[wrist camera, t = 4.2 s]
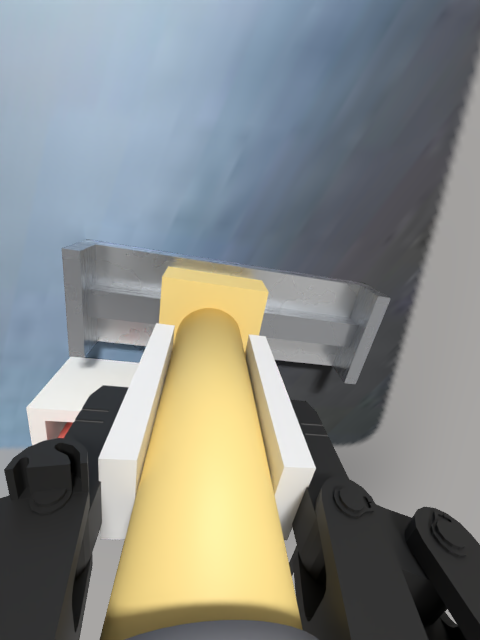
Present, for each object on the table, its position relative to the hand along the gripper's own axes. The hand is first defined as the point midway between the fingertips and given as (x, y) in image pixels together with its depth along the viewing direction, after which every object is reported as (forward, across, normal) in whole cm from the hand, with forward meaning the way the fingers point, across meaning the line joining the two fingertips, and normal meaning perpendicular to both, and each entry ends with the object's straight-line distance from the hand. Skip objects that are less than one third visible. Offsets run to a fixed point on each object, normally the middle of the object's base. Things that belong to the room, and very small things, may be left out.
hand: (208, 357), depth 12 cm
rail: (+7, +1, 0) cm, 7 cm away
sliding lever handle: (+5, 0, 0) cm, 5 cm away
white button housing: (+7, -6, -8) cm, 12 cm away
